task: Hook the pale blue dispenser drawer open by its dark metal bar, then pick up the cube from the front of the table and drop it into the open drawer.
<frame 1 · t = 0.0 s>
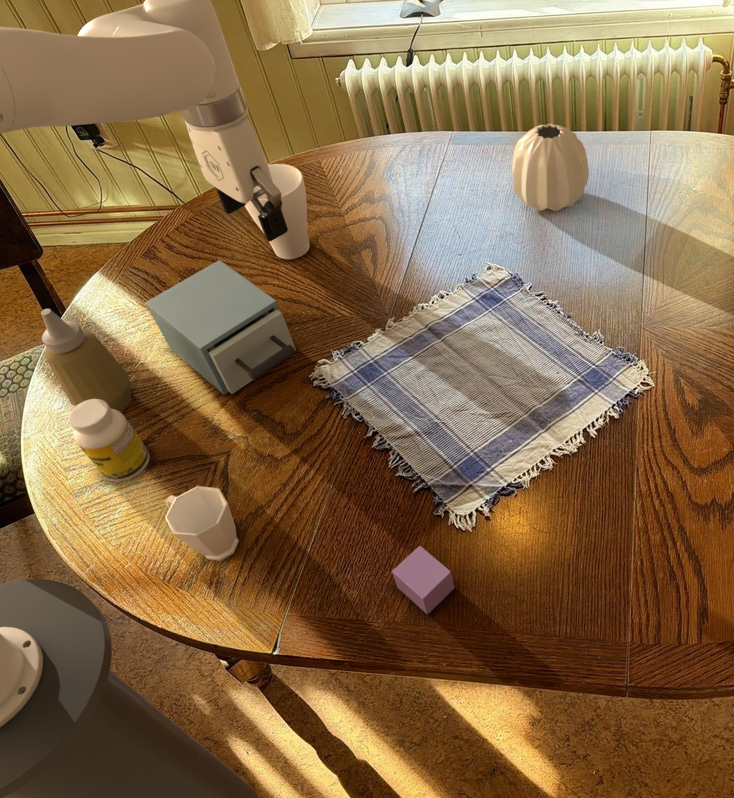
hand: (256, 222, 103), 20 cm above the table, tool pointing down, fingers open, 9 cm apart
cabinet: (232, 348, 115), on the table
drawer: (240, 340, 109), point 5 cm above the table, slide at 0.5 cm
cup: (212, 541, 93), on the table
pill bottle: (127, 465, 101), on the table
squeeze bottle: (111, 404, 108), on the table
cube: (426, 587, 88), on the table
cup 2: (292, 249, 131), on the table
vase: (549, 199, 138), on the table
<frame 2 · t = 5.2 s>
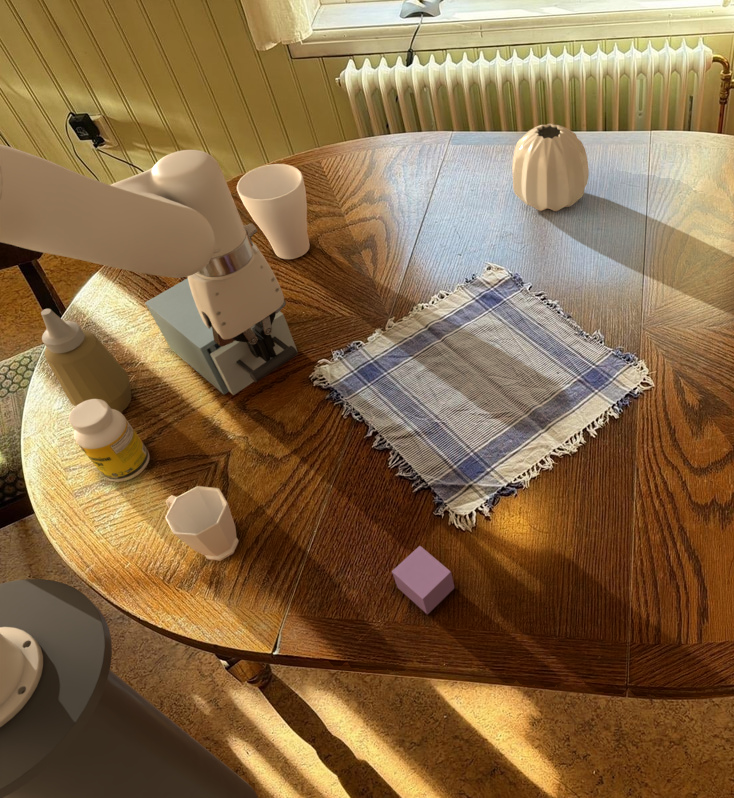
hand: (265, 354, 105), 6 cm above the table, tool pointing down, fingers closed
drawer: (241, 341, 109), point 5 cm above the table, slide at 0.9 cm
everything else where it was.
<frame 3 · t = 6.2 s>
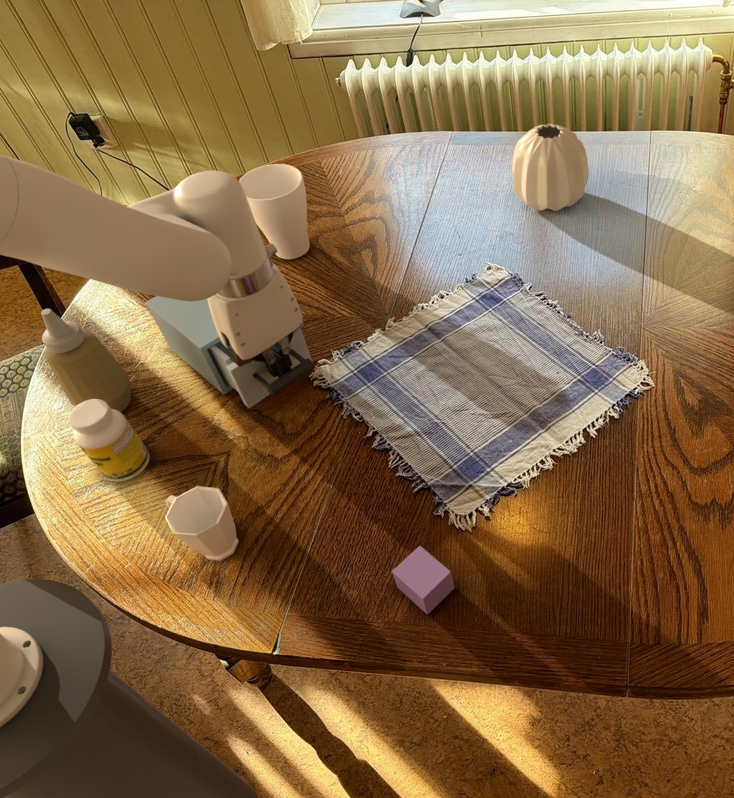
hand: (282, 373, 104), 5 cm above the table, tool pointing down, fingers closed
drawer: (256, 353, 107), point 5 cm above the table, slide at 4.7 cm, touching gripper
everything else where it was.
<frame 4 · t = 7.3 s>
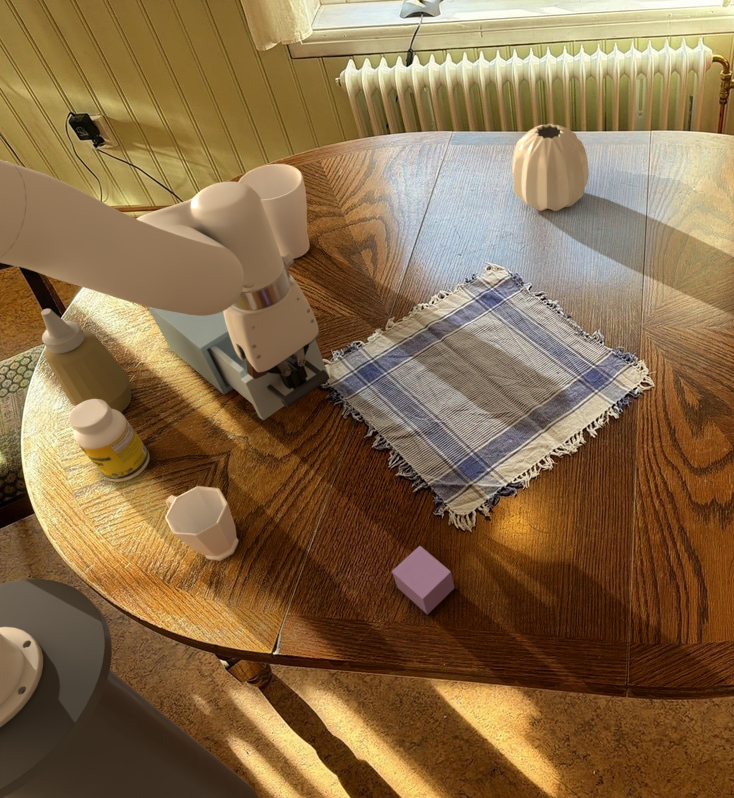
hand: (297, 385, 103), 5 cm above the table, tool pointing down, fingers closed
drawer: (271, 364, 105), point 5 cm above the table, slide at 8.2 cm, touching gripper
everything else where it was.
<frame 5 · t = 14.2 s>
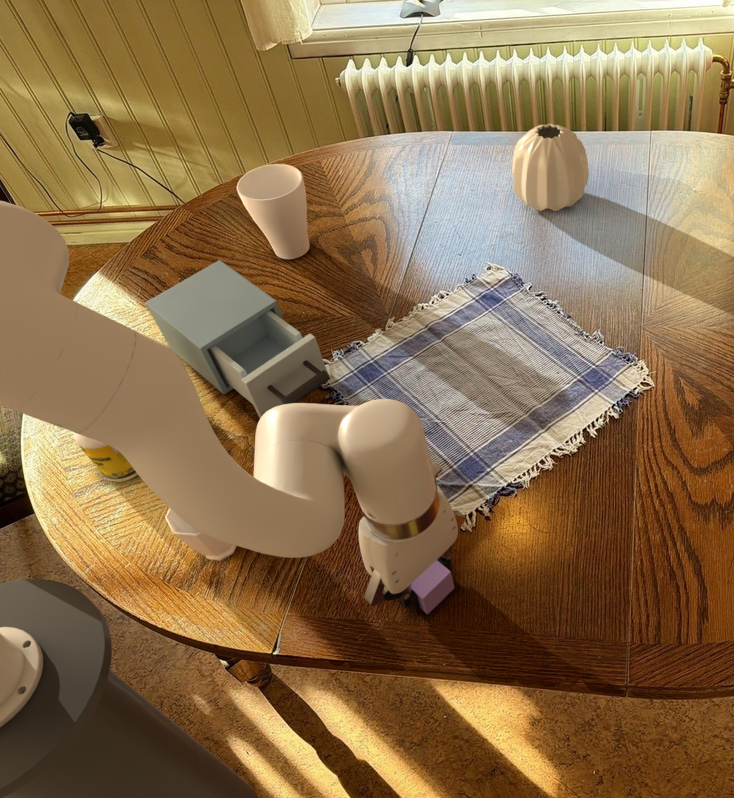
hand: (425, 586, 87), 0 cm above the table, tool pointing down, fingers closed on cube, 4 cm apart
drawer: (271, 364, 105), point 5 cm above the table, slide at 8.2 cm
cube: (426, 587, 88), on the table, touching gripper
everything else where it was.
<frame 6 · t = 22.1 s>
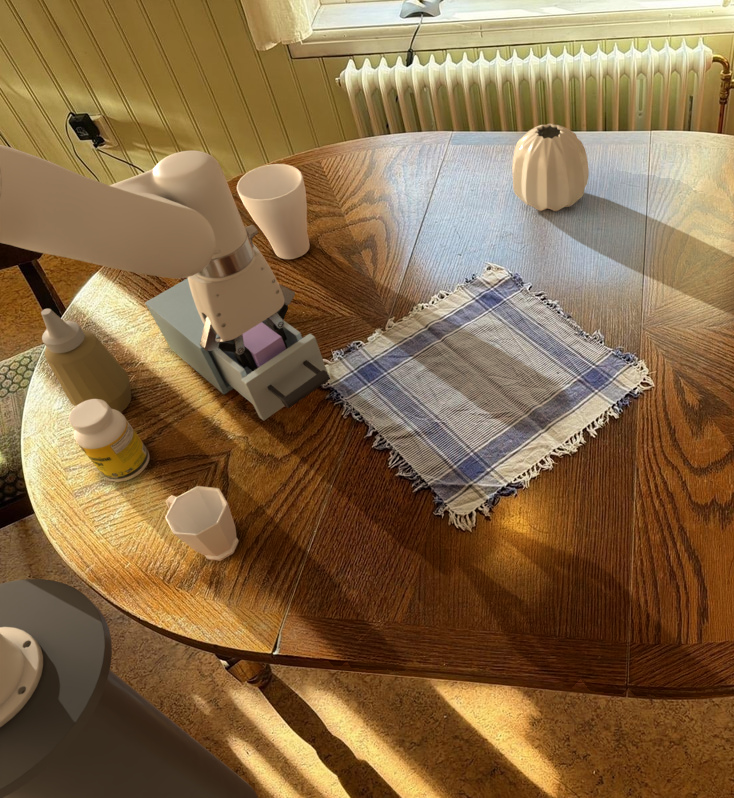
hand: (265, 355, 105), 6 cm above the table, tool pointing down, fingers closed on cube, 4 cm apart
drawer: (271, 364, 105), point 5 cm above the table, slide at 8.2 cm, touching gripper
cube: (265, 357, 105), point 6 cm above the table, touching gripper
everything else where it was.
when the fingers open (8 cm above the table, at t = 25.9 s): cube stays where it is, resting on drawer.
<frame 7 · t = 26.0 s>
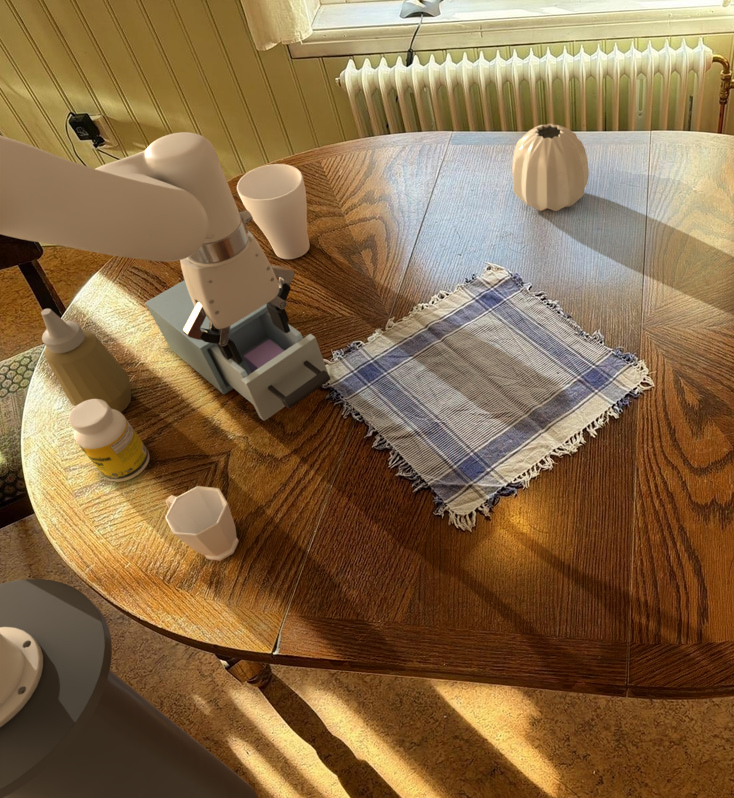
hand: (258, 342, 103), 9 cm above the table, tool pointing down, fingers open, 7 cm apart
drawer: (271, 365, 105), point 5 cm above the table, slide at 8.3 cm, touching cube
cube: (275, 375, 108), point 2 cm above the table, touching drawer
everything else where it was.
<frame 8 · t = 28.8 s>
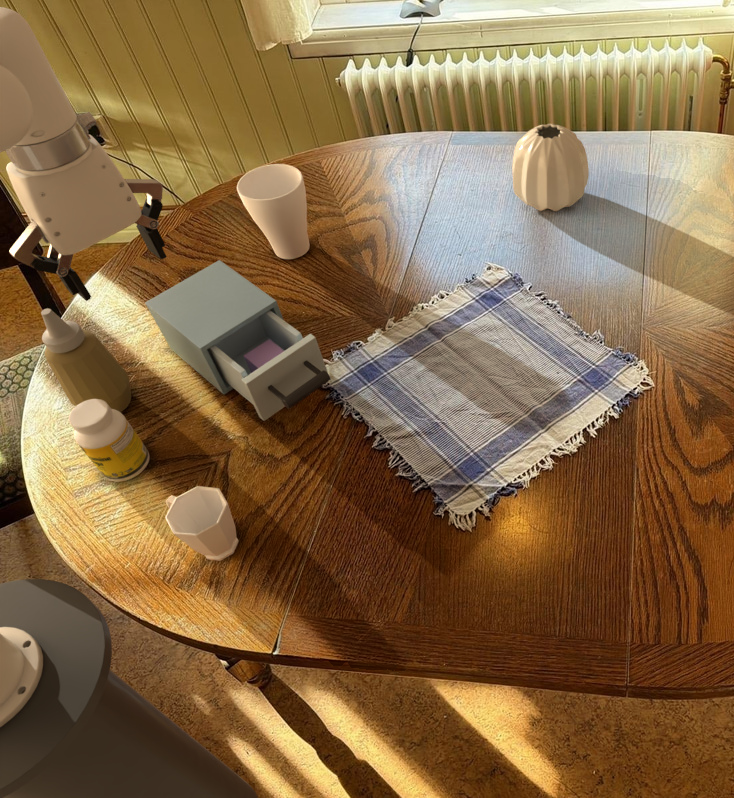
hand: (121, 273, 89), 24 cm above the table, tool pointing down, fingers open, 9 cm apart
nothing on the table moved.
at the end: drawer slide at 8.3 cm; cube inside the target area in the drawer (3.7 cm from its centre), point 2.0 cm above the cabinet's base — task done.
